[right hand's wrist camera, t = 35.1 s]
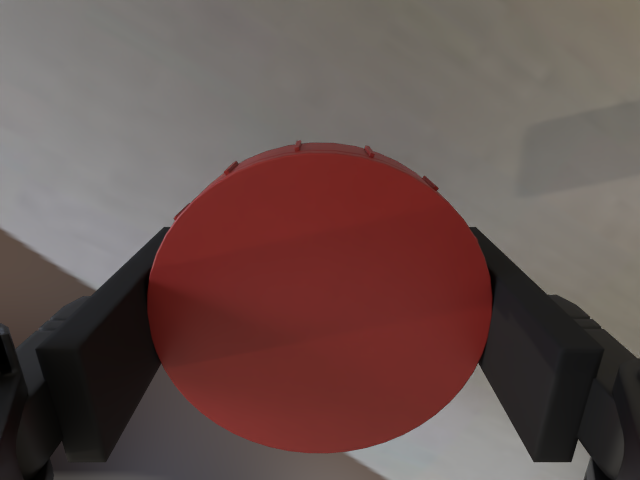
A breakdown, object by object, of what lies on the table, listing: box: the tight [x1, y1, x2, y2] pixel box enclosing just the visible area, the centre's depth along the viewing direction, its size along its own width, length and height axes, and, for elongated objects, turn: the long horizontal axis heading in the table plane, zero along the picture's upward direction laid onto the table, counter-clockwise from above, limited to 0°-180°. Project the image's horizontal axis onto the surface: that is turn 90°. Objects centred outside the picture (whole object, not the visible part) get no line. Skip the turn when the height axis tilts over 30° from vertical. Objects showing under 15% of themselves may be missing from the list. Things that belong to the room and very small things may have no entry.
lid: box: [147, 140, 493, 453], centre depth 11 cm, size 9×9×2 cm
